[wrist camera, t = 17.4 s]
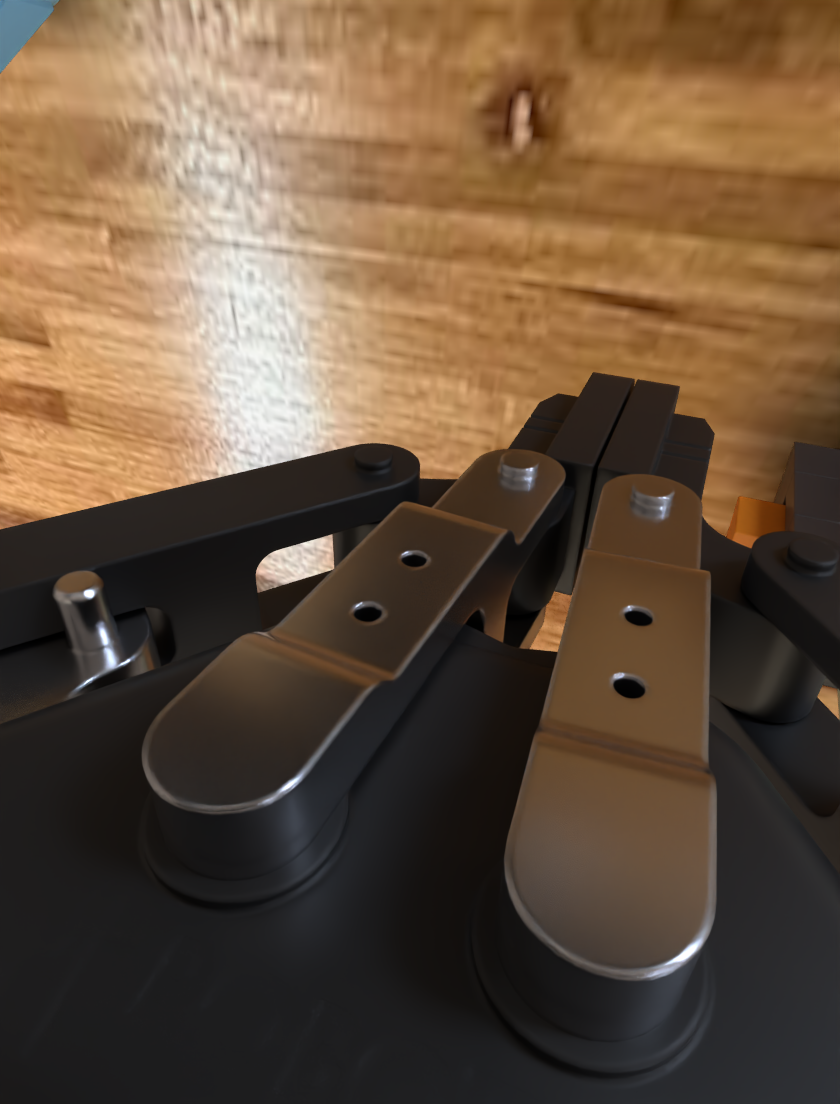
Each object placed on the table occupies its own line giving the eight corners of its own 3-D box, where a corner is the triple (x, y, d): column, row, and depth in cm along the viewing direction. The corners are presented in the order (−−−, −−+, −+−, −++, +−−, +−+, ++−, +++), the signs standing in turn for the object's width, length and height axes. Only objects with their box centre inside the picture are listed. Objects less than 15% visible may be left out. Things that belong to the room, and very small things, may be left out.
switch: (720, 554, 40) (715, 593, 37) (739, 495, 38) (734, 532, 35) (769, 565, 39) (767, 605, 36) (790, 505, 37) (790, 543, 34)
